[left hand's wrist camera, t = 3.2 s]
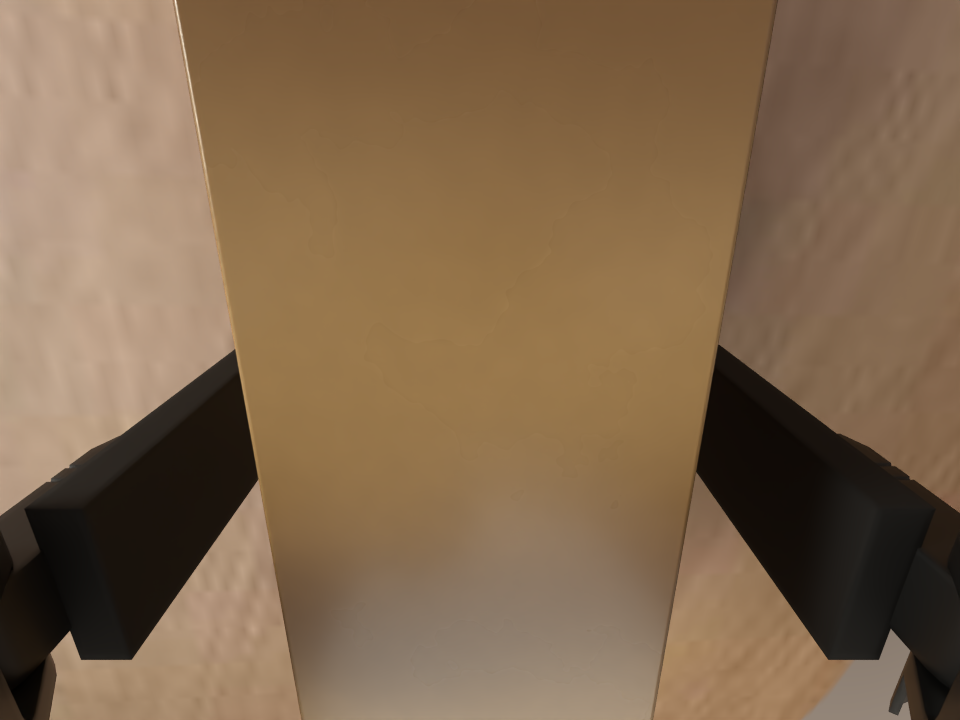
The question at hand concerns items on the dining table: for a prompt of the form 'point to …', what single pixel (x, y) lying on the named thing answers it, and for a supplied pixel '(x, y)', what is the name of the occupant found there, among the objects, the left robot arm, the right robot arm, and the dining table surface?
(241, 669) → the dining table surface
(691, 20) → the bar
